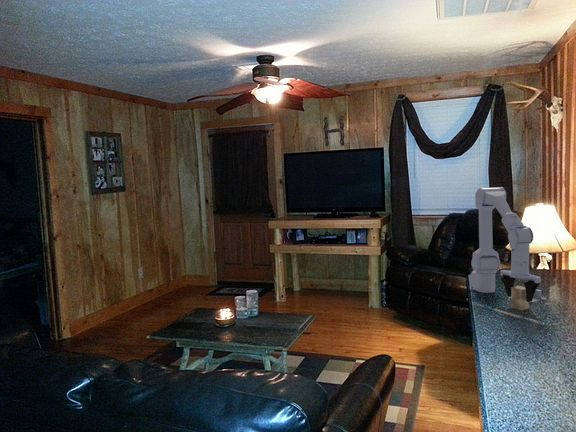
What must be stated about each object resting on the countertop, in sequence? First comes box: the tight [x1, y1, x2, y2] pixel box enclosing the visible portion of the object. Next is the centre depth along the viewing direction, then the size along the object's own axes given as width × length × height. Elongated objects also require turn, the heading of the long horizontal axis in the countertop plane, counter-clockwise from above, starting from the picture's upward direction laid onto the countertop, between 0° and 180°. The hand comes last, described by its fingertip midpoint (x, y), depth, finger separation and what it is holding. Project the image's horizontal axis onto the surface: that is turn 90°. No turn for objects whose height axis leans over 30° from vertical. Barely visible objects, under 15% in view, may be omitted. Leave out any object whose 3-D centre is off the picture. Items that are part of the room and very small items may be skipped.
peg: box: [510, 285, 530, 311], centre depth 163 cm, size 4×4×8 cm
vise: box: [507, 288, 548, 304], centre depth 175 cm, size 9×11×4 cm
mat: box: [493, 308, 526, 319], centre depth 163 cm, size 10×14×1 cm
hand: (519, 298), depth 163 cm, fingers open, 7 cm apart
